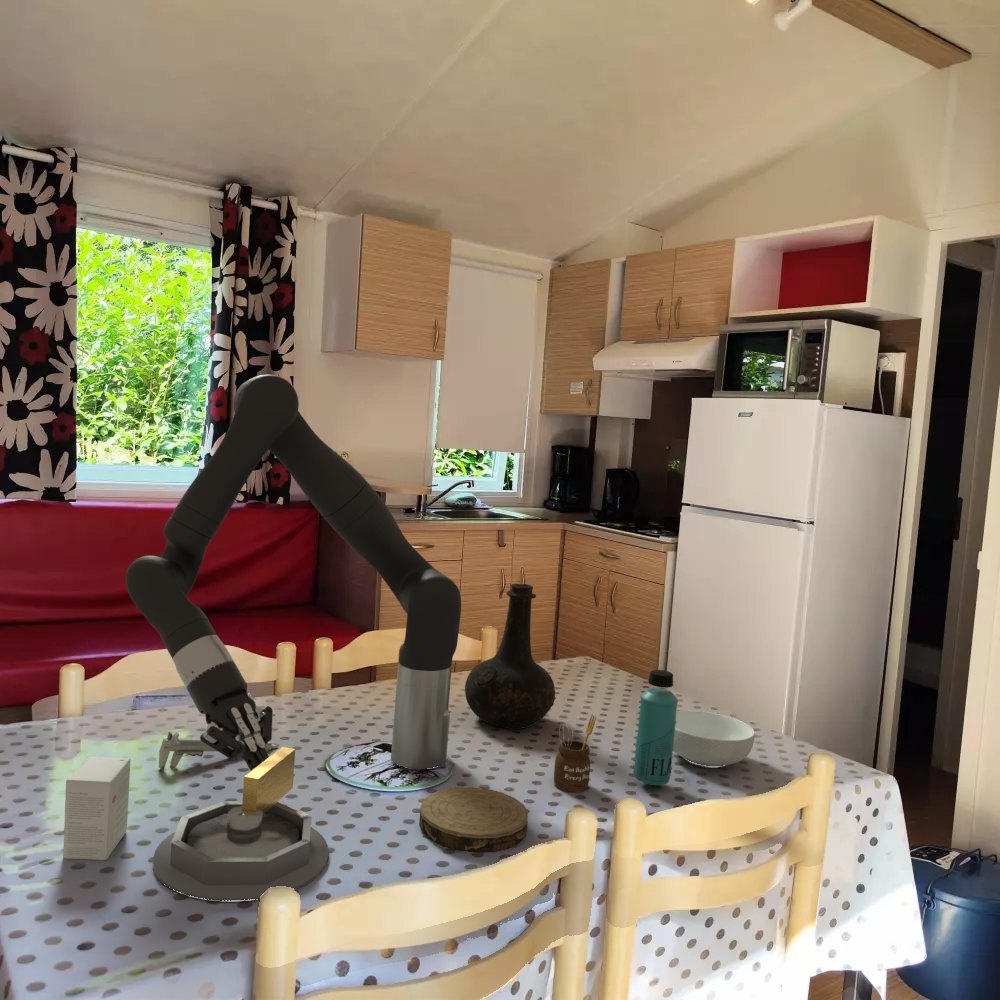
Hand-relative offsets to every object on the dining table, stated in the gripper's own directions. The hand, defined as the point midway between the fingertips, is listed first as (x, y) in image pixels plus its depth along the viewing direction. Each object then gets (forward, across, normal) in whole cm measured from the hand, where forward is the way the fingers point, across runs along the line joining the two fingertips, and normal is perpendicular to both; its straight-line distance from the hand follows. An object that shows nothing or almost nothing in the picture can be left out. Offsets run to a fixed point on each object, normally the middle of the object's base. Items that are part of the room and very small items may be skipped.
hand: (267, 776), depth 126 cm
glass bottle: (+10, +62, 0) cm, 63 cm away
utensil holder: (+26, +41, -17) cm, 51 cm away
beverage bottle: (+34, +50, -25) cm, 65 cm away
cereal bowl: (+37, +68, -28) cm, 82 cm away
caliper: (-10, +14, +21) cm, 27 cm away
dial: (+7, -6, +1) cm, 9 cm away
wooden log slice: (+22, +17, -12) cm, 31 cm away
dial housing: (+8, -9, +2) cm, 12 cm away
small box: (-4, -18, +14) cm, 23 cm away
